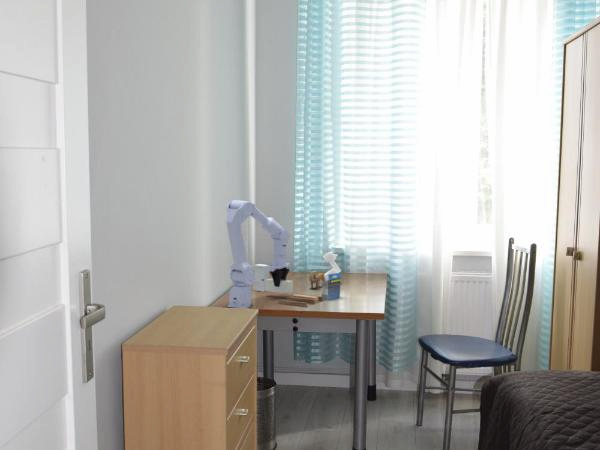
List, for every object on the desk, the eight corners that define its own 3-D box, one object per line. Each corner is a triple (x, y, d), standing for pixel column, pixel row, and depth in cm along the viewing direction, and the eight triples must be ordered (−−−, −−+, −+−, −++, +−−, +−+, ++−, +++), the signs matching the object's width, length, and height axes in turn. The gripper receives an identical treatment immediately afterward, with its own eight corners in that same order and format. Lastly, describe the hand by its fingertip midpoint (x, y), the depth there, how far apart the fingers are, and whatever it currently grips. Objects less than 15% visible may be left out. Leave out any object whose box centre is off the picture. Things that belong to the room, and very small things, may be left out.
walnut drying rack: (305, 309, 294) (306, 303, 294) (276, 306, 301) (276, 299, 301) (324, 302, 309) (325, 296, 309) (296, 299, 316) (296, 293, 316)
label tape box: (333, 298, 319) (333, 271, 317) (340, 299, 316) (340, 272, 315) (320, 301, 312) (321, 273, 311) (328, 302, 309) (328, 274, 308)
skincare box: (253, 290, 336) (253, 264, 334) (259, 289, 339) (259, 263, 338) (263, 292, 332) (264, 265, 331) (269, 290, 336) (269, 264, 335)
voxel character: (351, 274, 353) (333, 249, 352) (331, 288, 354) (313, 263, 353) (350, 272, 360) (333, 248, 359) (331, 285, 361) (314, 261, 360)
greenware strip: (289, 293, 310) (289, 281, 310) (265, 290, 316) (265, 279, 315) (293, 292, 313) (293, 280, 313) (269, 289, 319) (269, 278, 318)
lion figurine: (317, 290, 337) (317, 271, 336) (307, 289, 339) (307, 271, 338) (328, 285, 351) (328, 267, 350) (317, 284, 353) (318, 266, 352)
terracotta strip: (315, 302, 304) (315, 297, 304) (292, 299, 310) (292, 295, 309) (318, 301, 307) (318, 296, 307) (295, 298, 312) (295, 294, 312)
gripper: (279, 257, 305) (278, 289, 306) (296, 253, 317) (295, 284, 319) (265, 256, 308) (264, 287, 309) (282, 252, 321) (281, 282, 322)
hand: (279, 285), depth 314 cm, fingers closed on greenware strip, 3 cm apart
